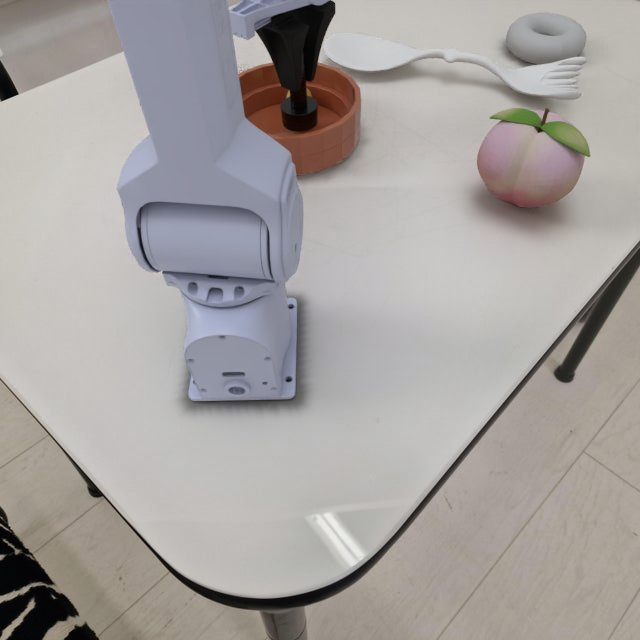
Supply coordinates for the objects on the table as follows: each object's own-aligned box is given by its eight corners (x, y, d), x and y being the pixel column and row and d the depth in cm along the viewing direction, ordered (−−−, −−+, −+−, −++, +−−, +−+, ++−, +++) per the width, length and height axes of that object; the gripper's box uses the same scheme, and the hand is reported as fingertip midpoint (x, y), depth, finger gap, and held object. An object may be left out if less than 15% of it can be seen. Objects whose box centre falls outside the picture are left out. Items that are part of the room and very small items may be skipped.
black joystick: (325, 119, 57) (323, 34, 50) (302, 136, 55) (297, 50, 48) (297, 107, 59) (292, 24, 51) (274, 124, 57) (265, 39, 50)
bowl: (363, 178, 54) (365, 135, 50) (218, 182, 54) (209, 140, 50) (355, 99, 63) (356, 58, 59) (231, 103, 63) (224, 62, 59)
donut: (545, 29, 73) (487, 43, 70) (554, 2, 70) (494, 16, 68) (596, 60, 67) (535, 77, 65) (608, 32, 64) (544, 49, 62)
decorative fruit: (575, 193, 51) (619, 99, 43) (548, 243, 47) (591, 149, 39) (486, 163, 55) (512, 71, 47) (454, 207, 51) (476, 114, 43)
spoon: (571, 120, 59) (583, 91, 56) (313, 74, 67) (312, 47, 64) (578, 81, 64) (589, 53, 61) (337, 42, 72) (337, 16, 69)
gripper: (266, -38, 38) (282, 128, 48) (376, -92, 44) (368, 65, 55) (198, -57, 40) (227, 105, 51) (312, -105, 47) (317, 47, 58)
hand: (297, 83), depth 53 cm, fingers closed on black joystick, 2 cm apart
